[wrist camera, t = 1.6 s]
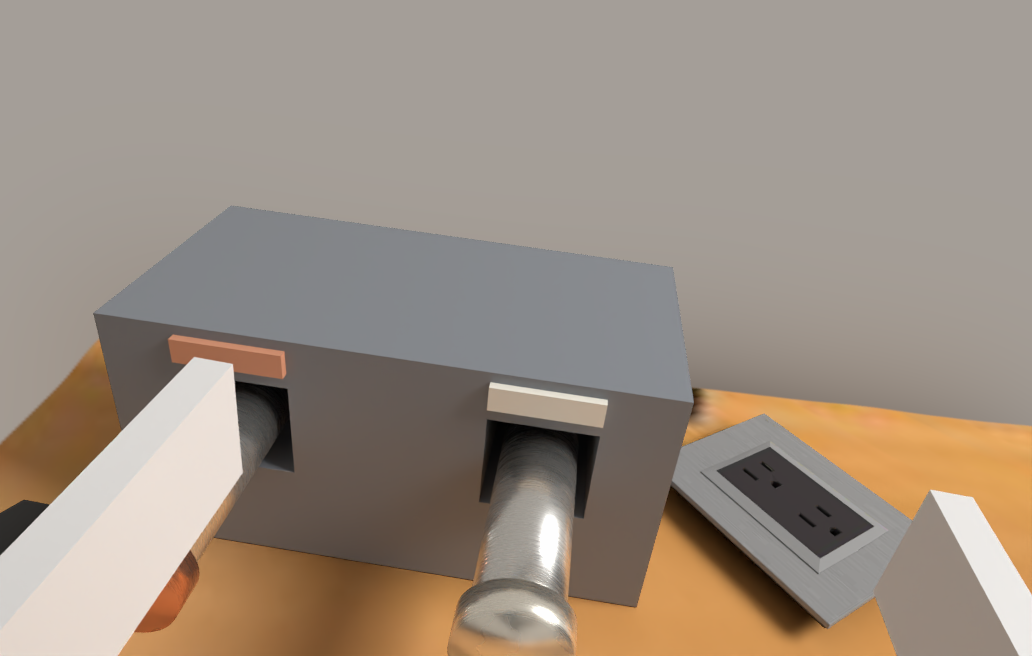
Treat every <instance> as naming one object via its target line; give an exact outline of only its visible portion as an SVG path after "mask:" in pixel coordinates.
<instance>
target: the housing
mask: <svg viewBox="0 0 1032 656" xmlns="http://www.w3.org/2000/svg"><path fill="white" fill-rule="evenodd" d="M93 314H94V318H95V322H96V326H97V330H98V334H99V339H100V343H101V347H102V351H103V356H104V360H105V364H106V368H107V372H108V376H109V381H110V385H111V389H112V393H113V397H114V401H115V406H116V410H117V414H118V418H119V422H120V426H121V431H122V430H123V429H124V428H125V427H126V426H127V425H128V424H129V423H130V422H131V421H132V420H133V419H134V418H135V417H136V416H137V415H138V414H139V413H140V412H141V411H142V410H143V409H144V408H145V407H146V406H147V405H148V404H149V403H150V402H151V401H152V400H153V399H154V398H155V397H156V396H157V395H158V394H159V392H160V391H161V390H162V389H163V388H164V387H165V386H166V385H167V384H168V383H169V382H170V381H171V380H172V379H173V378H174V377H175V376H176V375H177V374H178V373H179V372H180V371H181V370H182V369H183V368H184V367H185V366H186V365H187V364H188V363H189V362H190V361H191V360H192V359H193V358H194V357H197V358H203V359H208V360H214V361H219V362H225V363H230V364H233V371H234V381H240V382H247V383H253V384H260V385H266V386H273V387H279V388H286V389H287V390H288V400H289V412H290V418H289V420H288V421H287V423H286V424H285V426H284V428H283V429H282V431H281V432H280V434H279V435H278V437H277V439H276V440H275V442H274V443H273V445H272V446H271V448H270V450H269V451H268V453H267V454H266V456H265V457H264V459H263V461H262V462H261V464H260V465H259V467H258V468H257V470H256V472H255V473H254V475H253V476H252V478H251V479H250V481H249V483H248V484H247V486H246V487H245V489H244V490H243V492H242V494H241V495H240V497H239V498H238V500H237V501H236V503H235V505H234V506H233V508H232V509H231V511H230V512H229V514H228V515H227V517H226V519H225V520H224V522H223V523H222V525H221V526H220V528H219V530H218V531H217V533H216V534H215V536H214V537H215V538H221V539H227V540H233V541H239V542H245V543H251V544H257V545H263V546H269V547H275V548H281V549H288V550H294V551H300V552H306V553H312V554H318V555H324V556H330V557H336V558H342V559H348V560H354V561H360V562H366V563H372V564H378V565H384V566H390V567H396V568H402V569H408V570H414V571H420V572H427V573H433V574H439V575H445V576H451V577H457V578H463V579H469V580H474V575H475V570H476V566H477V561H478V556H479V552H480V547H481V542H482V537H483V533H484V528H485V523H486V519H487V514H488V509H489V504H490V500H491V495H492V490H493V486H494V481H495V476H496V471H497V467H498V462H499V457H500V453H501V448H502V443H503V438H504V434H505V431H506V429H507V427H508V425H509V424H510V423H515V424H521V425H528V426H534V427H541V428H547V429H554V430H560V431H567V432H573V433H576V434H577V436H578V441H579V448H578V462H577V476H576V491H575V505H574V519H573V533H572V548H571V562H570V576H569V590H568V596H572V597H578V598H584V599H590V600H596V601H602V602H608V603H614V604H620V605H626V606H632V607H637V603H638V600H639V596H640V593H641V589H642V586H643V582H644V578H645V575H646V571H647V568H648V564H649V561H650V557H651V553H652V550H653V546H654V543H655V539H656V536H657V532H658V529H659V525H660V521H661V518H662V514H663V511H664V507H665V504H666V500H667V496H668V493H669V489H670V486H671V482H672V479H673V475H674V471H675V468H676V464H677V461H678V457H679V454H680V450H681V447H682V443H683V439H684V436H685V432H686V429H687V425H688V422H689V418H690V414H691V411H692V407H693V404H694V401H693V395H692V388H691V382H690V375H689V369H688V362H687V356H686V349H685V343H684V336H683V330H682V324H681V317H680V311H679V304H678V298H677V292H676V285H675V278H674V272H673V267H667V266H659V265H653V264H646V263H638V262H631V261H624V260H617V259H610V258H602V257H595V256H588V255H581V254H574V253H567V252H560V251H552V250H545V249H538V248H531V247H524V246H516V245H510V244H502V243H494V242H488V241H481V240H474V239H467V238H459V237H452V236H445V235H438V234H431V233H424V232H416V231H409V230H401V229H395V228H387V227H380V226H373V225H366V224H359V223H352V222H345V221H338V220H330V219H323V218H316V217H309V216H302V215H295V214H288V213H280V212H273V211H266V210H258V209H252V208H245V207H237V206H230V207H229V208H227V209H226V210H225V211H224V212H222V213H221V214H220V215H218V216H217V217H216V218H214V219H213V220H212V221H211V222H209V223H208V224H207V225H205V226H204V227H203V228H202V229H200V230H199V231H198V232H197V233H195V234H194V235H193V236H191V237H190V238H189V239H188V240H186V241H185V242H184V243H183V244H181V245H180V246H179V247H177V248H176V249H175V250H174V251H172V252H171V253H170V254H168V255H167V256H166V257H164V258H163V259H162V260H161V261H159V262H158V263H157V264H156V265H154V266H153V267H152V268H150V269H149V270H148V271H147V272H146V273H144V274H143V275H141V276H140V277H139V278H138V279H136V280H135V281H134V282H132V283H131V284H130V285H129V286H127V287H126V288H125V289H123V290H122V291H121V292H120V293H118V294H117V295H116V296H114V297H113V298H112V299H111V300H109V301H108V302H107V303H105V304H104V305H103V306H102V307H100V308H99V309H98V310H97V311H95V312H94V313H93Z"/></svg>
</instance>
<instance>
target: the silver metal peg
mask: <svg viewBox="0 0 1032 656" xmlns="http://www.w3.org/2000/svg"><path fill="white" fill-rule="evenodd" d="M578 448H579V441H578V436H577V434H576V433H573V432H567V431H560V430H554V429H547V428H541V427H534V426H528V425H521V424H515V423H510V424H509V425H508V427H507V429H506V431H505V434H504V438H503V443H502V448H501V453H500V457H499V462H498V467H497V471H496V476H495V481H494V486H493V490H492V495H491V500H490V504H489V509H488V514H487V519H486V523H485V528H484V533H483V537H482V542H481V547H480V552H479V556H478V561H477V566H476V570H475V575H474V580H473V585H472V587H471V588H470V589H468V590H467V591H466V592H465V593H464V594H463V595H462V596H461V598H460V599H459V601H458V603H457V606H456V611H455V615H454V619H453V624H452V628H451V633H450V637H449V641H448V647H447V650H448V656H576V641H577V619H576V615H575V613H574V611H573V609H572V608H571V606H570V605H569V603H568V590H569V576H570V562H571V548H572V533H573V519H574V505H575V491H576V476H577V462H578Z"/></svg>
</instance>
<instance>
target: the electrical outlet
mask: <svg viewBox="0 0 1032 656" xmlns="http://www.w3.org/2000/svg"><path fill="white" fill-rule="evenodd" d="M671 487H672V488H673V489H675V490H676V491H677V492H678V493H679V494H680V495H681V496H682V497H683V498H684V499H685V500H686V501H687V502H689V503H690V504H691V505H692V506H693V507H694V508H695V509H696V510H697V511H698V512H699V513H700V514H702V515H703V516H704V517H705V518H706V519H707V520H708V521H709V522H710V523H711V524H712V525H713V526H715V527H716V528H717V529H718V530H719V531H720V532H721V533H722V534H723V535H724V536H725V537H726V538H728V539H729V540H730V541H731V542H732V543H733V544H734V545H735V546H736V547H737V548H738V549H739V550H740V551H742V552H743V553H744V554H745V555H746V556H747V557H748V558H749V559H750V560H751V561H752V562H753V563H755V564H756V565H757V566H758V567H759V568H760V569H761V570H762V571H763V572H764V573H765V574H766V575H768V576H769V577H770V578H771V579H772V580H773V581H774V582H775V583H776V584H777V585H778V586H779V587H780V588H782V589H783V590H784V591H785V592H786V593H787V594H788V595H789V596H790V597H791V598H792V599H793V600H795V601H796V602H797V603H798V604H799V605H800V606H801V607H802V608H803V609H804V610H805V611H806V612H808V613H809V614H810V615H811V616H812V617H813V618H814V619H815V620H816V621H817V622H818V623H819V624H821V625H822V626H823V627H824V628H827V629H828V628H830V627H831V626H833V625H834V624H836V623H837V622H839V621H840V620H842V619H843V618H845V617H846V616H848V615H849V614H851V613H852V612H854V611H855V610H857V609H858V608H859V607H861V606H862V605H864V604H865V603H867V602H868V601H870V600H871V599H873V598H874V597H875V595H874V593H873V590H874V588H875V587H876V585H877V583H878V581H879V580H880V578H881V576H882V574H883V572H884V571H885V569H886V567H887V565H888V564H889V562H890V560H891V558H892V556H893V555H894V553H895V551H896V549H897V548H898V546H899V544H900V542H901V540H902V539H903V537H904V535H905V533H906V531H907V530H908V528H909V526H910V524H911V523H912V520H911V519H909V518H908V517H906V516H905V515H904V514H902V513H901V512H899V511H898V510H897V509H895V508H894V507H893V506H891V505H890V504H888V503H887V502H886V501H884V500H883V499H882V498H880V497H879V496H877V495H876V494H875V493H873V492H872V491H870V490H869V489H868V488H866V487H865V486H864V485H862V484H861V483H859V482H858V481H857V480H855V479H854V478H853V477H851V476H850V475H848V474H847V473H846V472H844V471H843V470H841V469H840V468H839V467H837V466H836V465H835V464H833V463H832V462H830V461H829V460H828V459H826V458H825V457H823V456H822V455H821V454H819V453H818V452H817V451H815V450H814V449H812V448H811V447H810V446H808V445H807V444H806V443H804V442H803V441H801V440H800V439H799V438H797V437H796V436H794V435H793V434H792V433H790V432H789V431H788V430H786V429H785V428H783V427H782V426H781V425H779V424H778V423H777V422H775V421H774V420H772V419H771V418H770V417H768V416H767V415H765V414H762V415H759V416H757V417H754V418H752V419H749V420H747V421H745V422H742V423H740V424H737V425H735V426H732V427H730V428H727V429H725V430H722V431H720V432H717V433H715V434H712V435H710V436H708V437H705V438H703V439H700V440H698V441H695V442H693V443H690V444H688V445H685V446H683V447H681V450H680V454H679V457H678V461H677V464H676V468H675V471H674V475H673V479H672V482H671Z"/></svg>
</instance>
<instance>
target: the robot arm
mask: <svg viewBox="0 0 1032 656" xmlns="http://www.w3.org/2000/svg"><path fill="white" fill-rule="evenodd" d="M242 473H243V470H242V459H241V448H240V437H239V426H238V415H237V404H236V393H235V382H234V371H233V364H230V363H225V362H219V361H214V360H208V359H203V358H197V357H194V358H193V359H192V360H191V361H190V362H189V363H188V364H187V365H186V366H185V367H184V368H183V369H182V370H181V371H180V372H179V373H178V374H177V375H176V376H175V377H174V378H173V379H172V380H171V381H170V382H169V383H168V384H167V385H166V386H165V387H164V388H163V389H162V390H161V391H160V392H159V394H158V395H157V396H156V397H155V398H154V399H153V400H152V401H151V402H150V403H149V404H148V405H147V406H146V407H145V408H144V409H143V410H142V411H141V412H140V413H139V414H138V415H137V416H136V417H135V418H134V419H133V420H132V421H131V422H130V423H129V424H128V425H127V426H126V427H125V428H124V429H123V430H122V431H121V432H120V433H119V435H118V436H117V437H116V438H115V439H114V440H113V441H112V442H111V443H110V444H109V445H108V446H107V447H106V448H105V449H104V450H103V451H102V452H101V453H100V454H99V455H98V456H97V457H96V458H95V459H94V460H93V461H92V462H91V463H90V464H89V465H88V466H87V467H86V468H85V469H84V470H83V471H82V472H81V473H80V474H79V476H78V477H77V478H76V479H75V480H74V481H73V482H72V483H71V484H70V485H69V486H68V487H67V488H66V489H65V490H64V491H63V492H62V493H61V494H60V495H59V496H58V497H57V498H56V499H55V500H54V501H53V502H52V503H51V504H50V505H49V504H44V503H39V502H33V501H28V500H23V501H21V502H19V503H17V504H16V505H14V506H12V507H10V508H9V509H7V510H5V511H3V512H1V513H0V656H118V654H119V653H120V651H121V650H122V648H123V647H124V645H125V644H126V643H127V641H128V640H129V638H130V637H131V635H132V634H133V632H134V631H135V629H136V628H137V626H138V625H139V624H140V622H141V621H142V619H143V618H144V616H145V615H146V613H147V612H148V610H149V609H150V607H151V606H152V605H153V603H154V602H155V600H156V599H157V597H158V596H159V594H160V593H161V591H162V590H163V588H164V587H165V586H166V584H167V583H168V581H169V580H170V578H171V577H172V575H173V574H174V572H175V571H176V569H177V568H178V567H179V565H180V564H181V562H182V561H183V559H184V558H185V556H186V555H187V553H188V552H189V550H190V549H191V548H192V546H193V545H194V543H195V542H196V540H197V539H198V537H199V536H200V534H201V533H202V531H203V530H204V529H205V527H206V526H207V524H208V523H209V521H210V520H211V518H212V517H213V515H214V514H215V513H216V511H217V510H218V508H219V507H220V505H221V504H222V502H223V501H224V499H225V498H226V496H227V495H228V494H229V492H230V491H231V489H232V488H233V486H234V485H235V483H236V482H237V480H238V479H239V477H240V476H241V475H242ZM873 593H874V595H875V598H876V601H877V603H878V606H879V609H880V611H881V614H882V617H883V619H884V622H885V625H886V628H887V630H888V633H889V636H890V638H891V641H892V644H893V646H894V649H895V652H896V654H897V656H1032V595H1031V593H1030V591H1029V590H1028V588H1027V587H1026V585H1025V583H1024V582H1023V580H1022V578H1021V577H1020V575H1019V573H1018V572H1017V570H1016V568H1015V567H1014V565H1013V563H1012V562H1011V560H1010V558H1009V557H1008V555H1007V553H1006V552H1005V550H1004V548H1003V547H1002V545H1001V543H1000V542H999V540H998V538H997V537H996V535H995V533H994V532H993V530H992V529H991V527H990V525H989V524H988V522H987V520H986V519H985V517H984V515H983V514H982V512H981V510H980V509H979V507H978V505H977V504H976V502H975V500H974V499H973V497H967V496H962V495H956V494H951V493H945V492H940V491H934V490H930V491H929V492H928V494H927V496H926V498H925V499H924V501H923V503H922V505H921V507H920V508H919V510H918V512H917V514H916V515H915V517H914V519H913V521H912V523H911V524H910V526H909V528H908V530H907V531H906V533H905V535H904V537H903V539H902V540H901V542H900V544H899V546H898V548H897V549H896V551H895V553H894V555H893V556H892V558H891V560H890V562H889V564H888V565H887V567H886V569H885V571H884V572H883V574H882V576H881V578H880V580H879V581H878V583H877V585H876V587H875V588H874V590H873Z"/></svg>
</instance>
